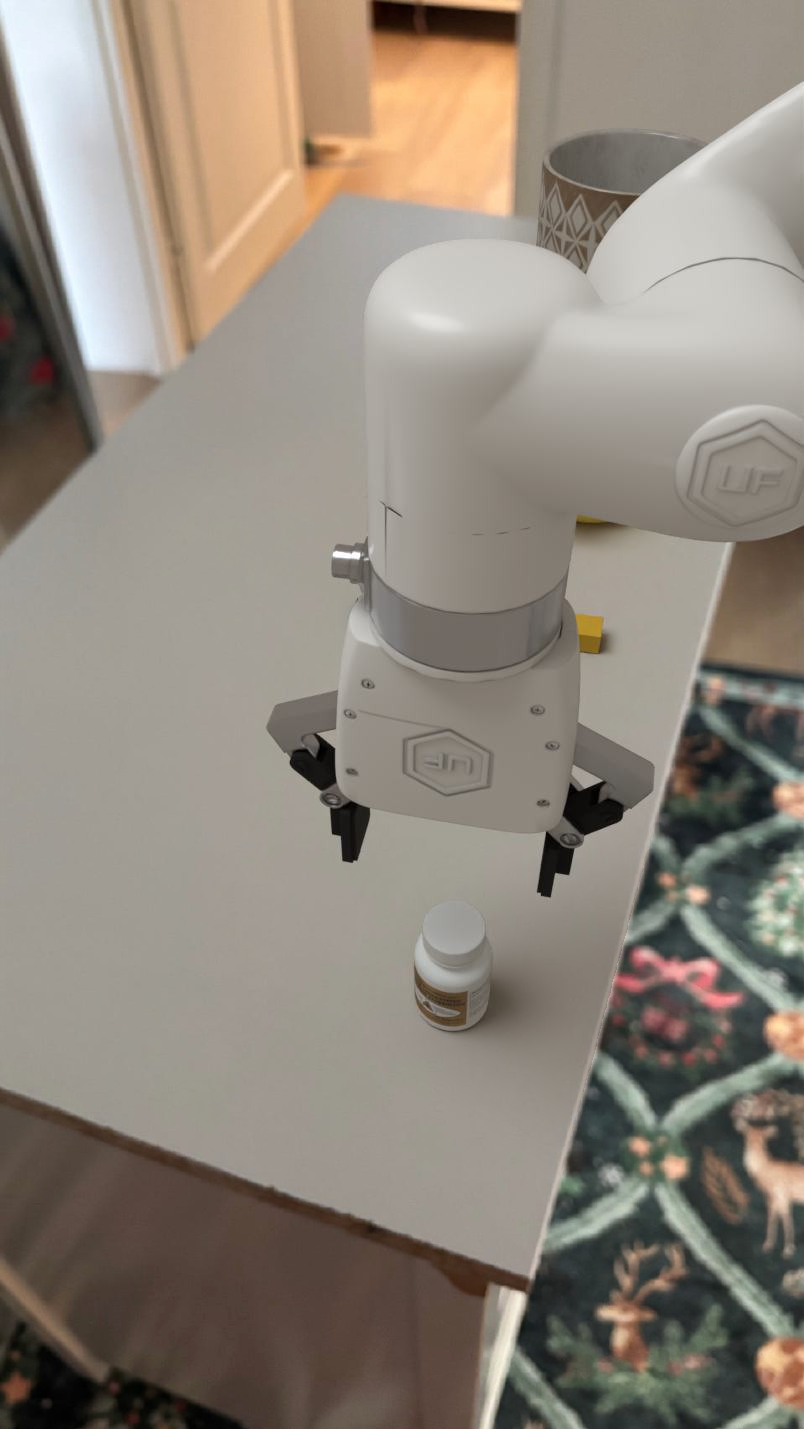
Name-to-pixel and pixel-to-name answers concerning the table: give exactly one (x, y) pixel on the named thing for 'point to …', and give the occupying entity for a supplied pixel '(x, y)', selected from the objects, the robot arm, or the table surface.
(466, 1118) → the table surface
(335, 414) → the table surface
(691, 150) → the planter
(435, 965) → the pill bottle
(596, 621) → the knife
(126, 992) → the table surface
